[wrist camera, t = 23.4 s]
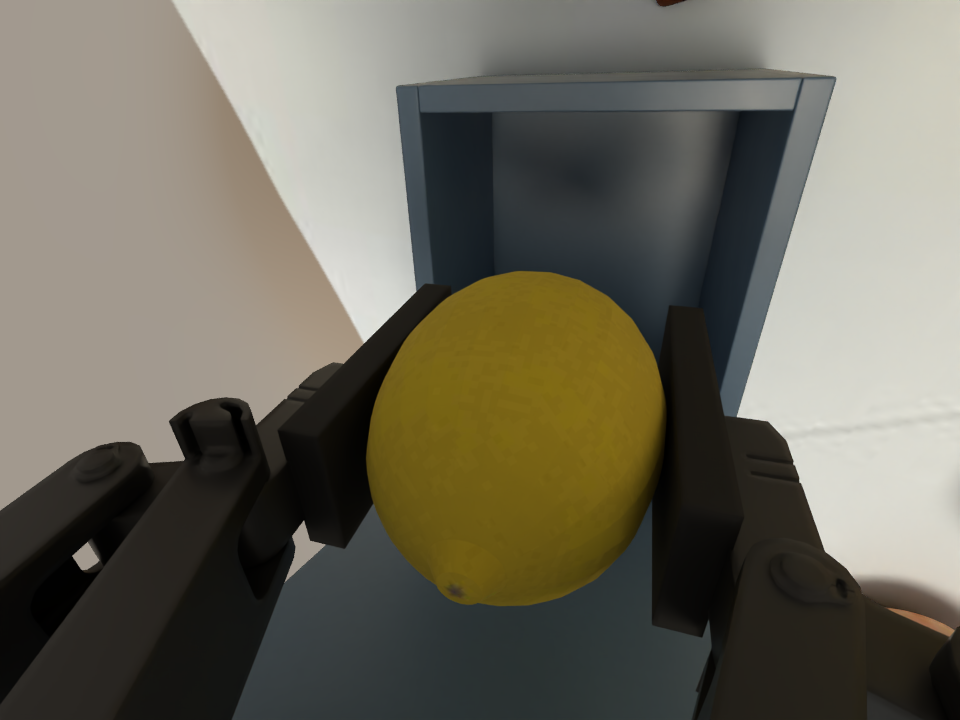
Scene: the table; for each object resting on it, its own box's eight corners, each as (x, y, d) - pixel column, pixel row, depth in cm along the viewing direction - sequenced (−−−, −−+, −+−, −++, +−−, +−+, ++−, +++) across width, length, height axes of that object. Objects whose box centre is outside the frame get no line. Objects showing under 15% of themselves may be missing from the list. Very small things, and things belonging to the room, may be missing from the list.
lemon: (507, 182, 12) (322, 349, 5) (712, 297, 12) (786, 607, 5) (427, 351, 15) (253, 585, 8) (589, 441, 15) (539, 745, 8)
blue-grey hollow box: (480, 76, 24) (394, 86, 16) (767, 69, 21) (837, 76, 13) (487, 353, 32) (432, 451, 24) (695, 379, 29) (711, 503, 21)
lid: (59, 785, 8) (93, 1090, 10) (989, 1218, 5) (834, 1583, 6) (429, 450, 24) (421, 585, 25) (714, 502, 20) (686, 654, 22)
